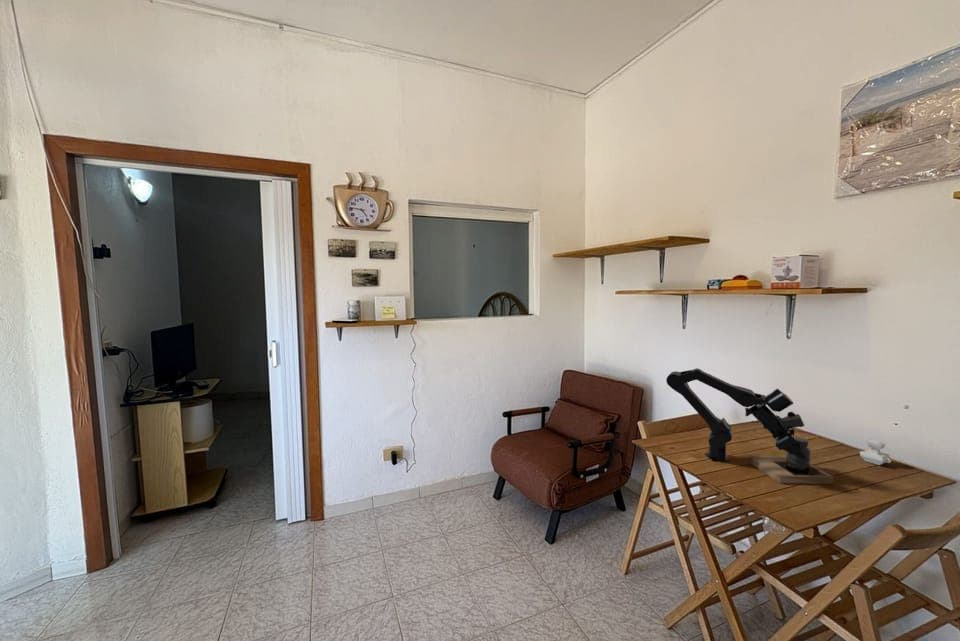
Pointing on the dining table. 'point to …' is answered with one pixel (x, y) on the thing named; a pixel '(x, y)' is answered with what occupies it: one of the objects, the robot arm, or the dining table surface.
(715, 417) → the robot arm
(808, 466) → the supplement bottle
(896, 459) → the dining table surface
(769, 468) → the tan flat square frame
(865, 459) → the stamp
